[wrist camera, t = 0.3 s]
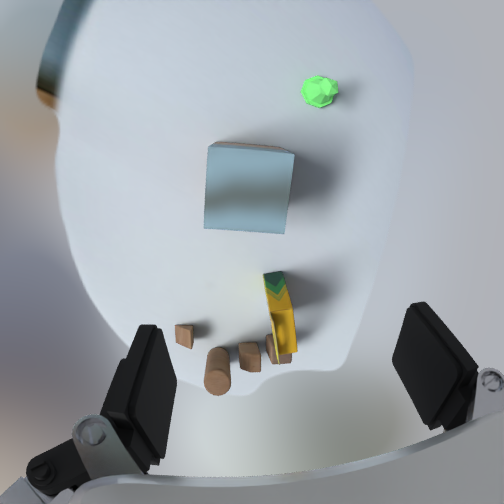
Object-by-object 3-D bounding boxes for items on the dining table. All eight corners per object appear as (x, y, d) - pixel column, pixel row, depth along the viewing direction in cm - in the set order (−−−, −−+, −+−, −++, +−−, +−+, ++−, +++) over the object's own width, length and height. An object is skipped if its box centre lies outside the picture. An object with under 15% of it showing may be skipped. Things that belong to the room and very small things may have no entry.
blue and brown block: (216, 141, 35) (208, 146, 25) (279, 147, 35) (294, 154, 26) (212, 202, 38) (203, 228, 29) (273, 207, 38) (284, 234, 29)
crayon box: (287, 310, 45) (300, 363, 35) (268, 313, 45) (277, 367, 35) (282, 269, 42) (296, 318, 32) (262, 273, 42) (270, 322, 32)
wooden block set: (282, 321, 49) (297, 338, 39) (281, 367, 49) (294, 392, 39) (176, 322, 48) (165, 340, 37) (179, 368, 48) (170, 395, 37)
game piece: (293, 91, 32) (304, 85, 27) (315, 70, 31) (329, 60, 26) (318, 114, 34) (333, 112, 28) (339, 92, 32) (357, 87, 27)
